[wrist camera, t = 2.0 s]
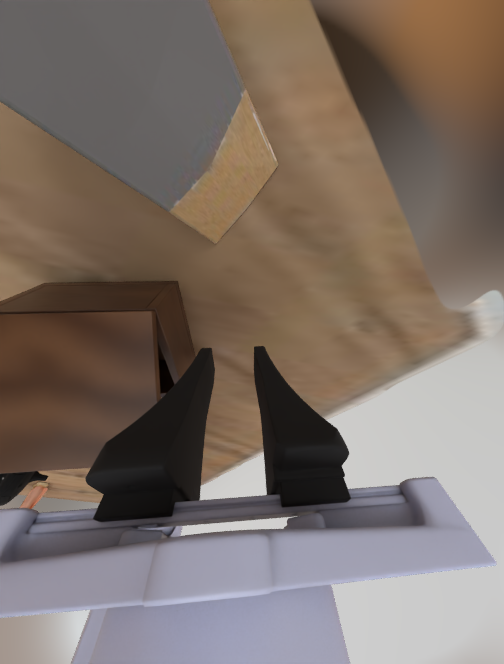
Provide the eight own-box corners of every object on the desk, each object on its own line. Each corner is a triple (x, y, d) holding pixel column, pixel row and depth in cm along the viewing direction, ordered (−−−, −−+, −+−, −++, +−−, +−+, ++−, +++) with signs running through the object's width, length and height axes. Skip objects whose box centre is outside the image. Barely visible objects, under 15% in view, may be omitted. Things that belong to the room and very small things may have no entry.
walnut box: (196, 358, 26) (185, 396, 21) (99, 362, 26) (63, 402, 20) (177, 280, 19) (155, 308, 14) (44, 282, 19) (-29, 312, 14)
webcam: (29, 424, 33) (-39, 495, 25) (76, 434, 36) (29, 501, 28) (25, 440, 36) (-37, 508, 28) (68, 449, 39) (24, 512, 31)
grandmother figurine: (47, 488, 52) (0, 558, 42) (30, 486, 51) (-23, 559, 40) (54, 481, 49) (5, 554, 39) (36, 478, 48) (-19, 554, 37)
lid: (164, 457, 15) (160, 463, 14) (-9, 468, 14) (-22, 475, 14) (155, 311, 14) (151, 310, 14) (-28, 315, 14) (-43, 315, 13)
